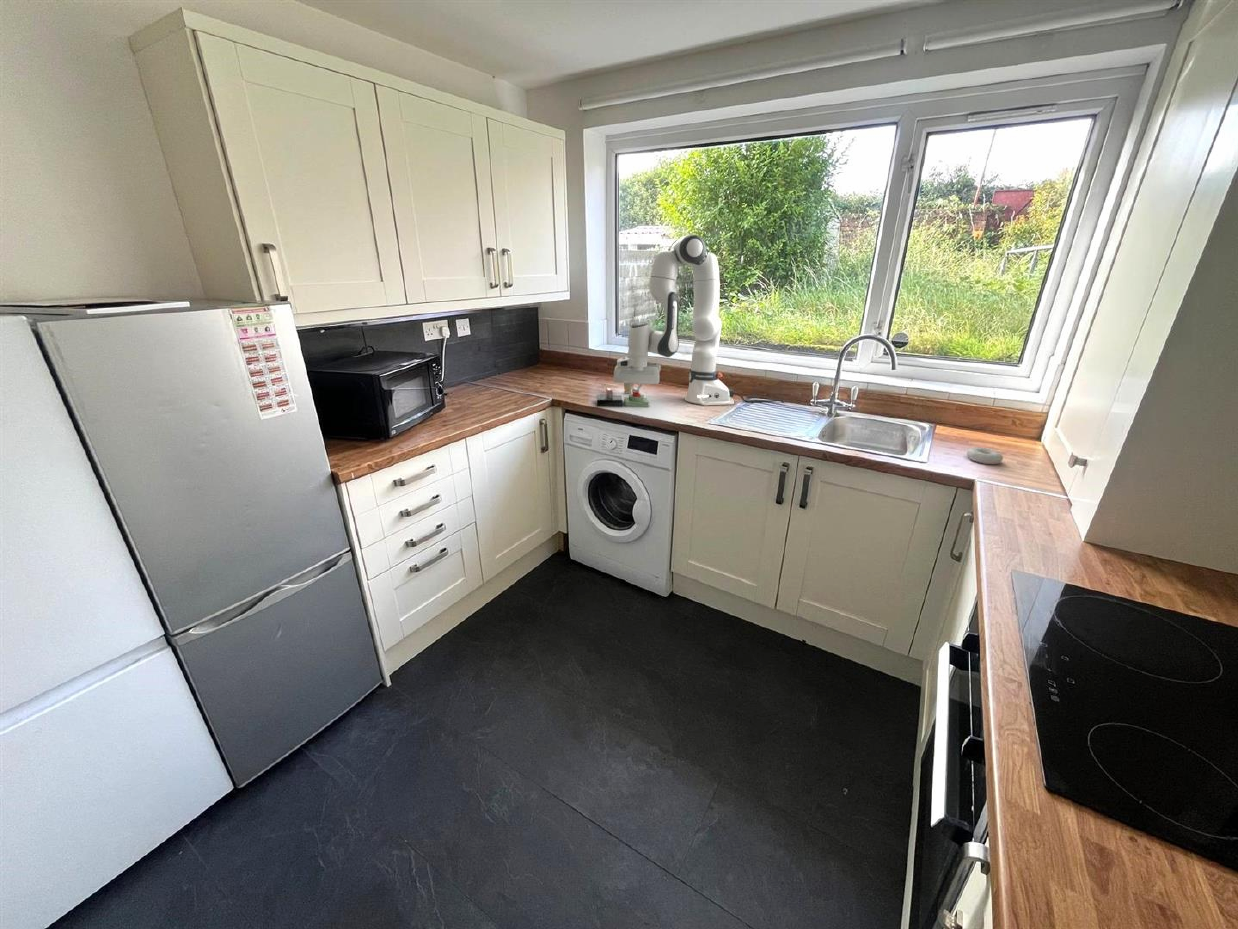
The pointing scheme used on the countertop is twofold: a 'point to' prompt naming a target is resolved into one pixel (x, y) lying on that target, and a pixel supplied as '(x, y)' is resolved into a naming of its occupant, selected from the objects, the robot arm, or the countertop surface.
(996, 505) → the countertop surface
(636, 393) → the button
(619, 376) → the robot arm
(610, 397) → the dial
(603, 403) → the hob panel
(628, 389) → the handle
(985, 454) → the donut
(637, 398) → the switch block
